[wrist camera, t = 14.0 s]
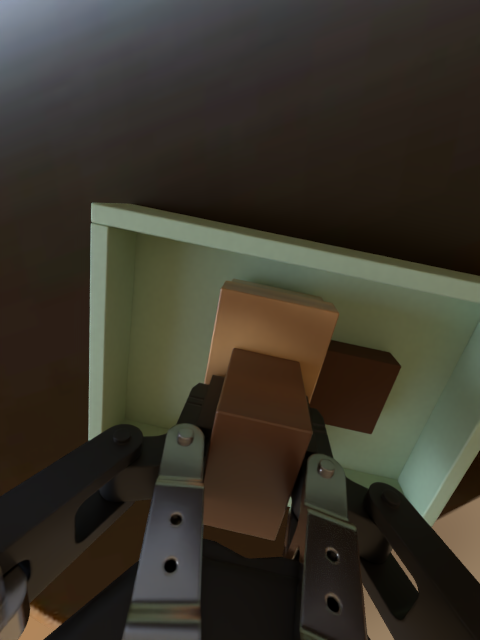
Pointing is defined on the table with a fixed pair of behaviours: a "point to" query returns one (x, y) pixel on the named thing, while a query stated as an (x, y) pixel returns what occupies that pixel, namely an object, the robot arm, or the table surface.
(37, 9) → the table surface
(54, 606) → the table surface
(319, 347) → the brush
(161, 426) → the tray
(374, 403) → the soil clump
